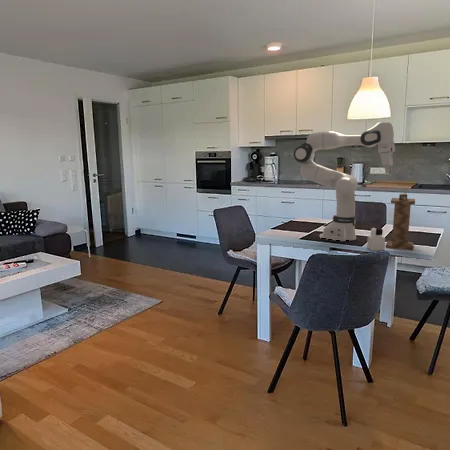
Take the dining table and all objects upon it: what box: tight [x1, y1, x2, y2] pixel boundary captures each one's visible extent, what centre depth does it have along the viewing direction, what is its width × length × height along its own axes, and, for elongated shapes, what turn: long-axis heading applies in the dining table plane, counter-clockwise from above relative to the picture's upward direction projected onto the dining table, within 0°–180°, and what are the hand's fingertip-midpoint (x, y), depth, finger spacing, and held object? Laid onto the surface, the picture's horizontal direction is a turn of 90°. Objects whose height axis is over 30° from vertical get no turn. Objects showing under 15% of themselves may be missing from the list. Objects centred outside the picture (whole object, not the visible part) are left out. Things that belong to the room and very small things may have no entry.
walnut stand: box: [385, 197, 416, 251], centre depth 218 cm, size 14×12×27 cm
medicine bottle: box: [366, 227, 386, 252], centre depth 215 cm, size 7×7×12 cm
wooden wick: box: [398, 192, 408, 200], centre depth 220 cm, size 4×16×3 cm, turn 154°
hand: (388, 173), depth 225 cm, fingers open, 8 cm apart
